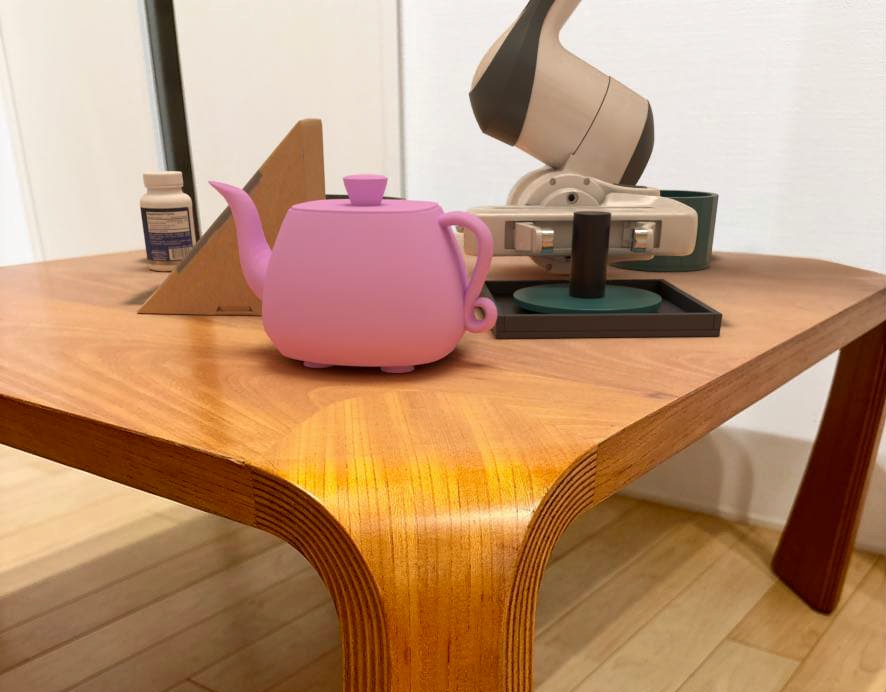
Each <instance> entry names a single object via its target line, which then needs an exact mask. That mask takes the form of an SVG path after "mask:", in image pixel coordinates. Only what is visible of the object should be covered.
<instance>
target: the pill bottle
mask: <svg viewBox="0 0 886 692" xmlns="http://www.w3.org/2000/svg"><path fill="white" fill-rule="evenodd" d="M142 180H143V185H144V188H146V193H145V194H143V195H142V196H141V197H140V198H139V209H140V216H141V223H142V232H143V239H144V246H145V254H146V260H147V261H146V262H147V266H148V268H149V269H150V270H151V271H155V272H172V271H173V270H174V268H175V267H176V266H177V265H178V264H179V263H180V261H181V260H182V259H183V258H184V257H185V256H186V254H187V253H188V252H189V251H190V250H191V249H192V247H193V246H194V245H195V244H196V243H197V242H198V240H197V233H196V226H195V225H196V224H195V217H194V216H195V215H194V207H193V201H192V198H191V197H190V195H188V194H187V193H184V191H183V188H182V187H184V179H183V172H182V171H178V170H176V171H175V170H160V171H145V172H142Z"/></svg>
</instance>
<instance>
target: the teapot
mask: <svg viewBox="0 0 886 692" xmlns="http://www.w3.org/2000/svg"><path fill="white" fill-rule="evenodd" d="M342 180H343V186H344V188H345V191H346V193H347V195H348V196H349V199H330V200H317V201H310V202H305V203H300V204H296V205H293V206H292V207H291V208H290V209H289V210H288V212H287V214H286V216H285V218H284V220H283V223H282V225H281V228H280V231H279V233H278V236H277V239H276V241H275V244H274V247H273V250H271V249H270V247H269V245H268V244H267V241H266V239H265V236H264V233H263V229H262V226H261V222H260V218H259V215H258V212H257V209H256V207H255V205H254V203H253V201H252V199H251V198H250V197H249V195H248V194H247V193H246V192H245V191H244V190H242V189H243V188H241V187H238V186H235V185H231V184H228V183H223V182H220V181H215V180H207V182H208V184H209V185H210V186H211V187H212V188H213V189H215V191H217V192H218V194H220V195H221V196H222V197H223V199H224V200H225V202H226V203H227V206H228V205H229V206H230V208H231V211H232V214H233V217H234V220H235V225H236V230H237V238H238V249H239V257H240V264H241V267H242V271H243V275H244V277H245V279H246V281H247V283H248V285H249V287H250V288H251V290H252V291H253V292H254V294H255V295H256V296H257V297H258V298H259V299H260V300H261V301H262V315H261V319H262V326H263V330H264V333H266V336H268V338H269V340H270V341H271V342H272V344H273V345H274V346H275V348H276V349H277V350H278V352H279V353H280V354H281V355H282V356H284V357H285V358H289V359H293V360H298V361H303V365H304V366H305V367H307V368H313V369H323V368H324V369H325V368H330V367H333V366H345V367H380V371H382V372H384V373H389V374H390V373H391V374H403V373H409V372H412V371H415V366H419V365H425V364H431V363H433V362H434V363H435V362H437V361H439V360H441V359H443V358H445V357H447V356H448V355H449V354H450V353H452V352H453V351H454V350H455V349H456V347H457V346H458V344H459V342H460V341H461V340H462V339H463V337H464V335H465V334H466V332H469V333H471V334H482V333H486V332H488V331H490V330H492V328H493V326H494V325H495V323H496V320H497V308H496V306H495V304H494V303H493V302H492V301H491V300H490V299H488V298H484V297H481V298H478V297H479V295H480V292H481V290H482V287H483V284H484V282H485V280H487V276H488V274H489V271H490V267H491V264H492V262H493V261H492V260H493V248H494V245H493V238H492V234H491V232H490V230H489V228H488V227H487V226H486V224H485V223H484V222H483V221H482V220H480V219H479V218H478V217H476V216H474V215H472V214H470V213H467V212H465V211H464V210H463V211H462V210H453V211H452V210H451V211H447V212H445V211H444V209H443V207H442V206H441V205H440V204H439V203H438V202H436V201H430V200H429V201H428V200H415V199H414V200H412V199H406V200H390V199H382V198H383V196H384V195H385V191H386V188H387V186H388V180H389V179H388V177H387V176H385V175H381V174H373V173H372V174H371V173H361V174H360V173H359V174H350V175H345V176H344V177H342ZM455 225H458V226H463V227H466V228H468V229H470V230H471V231H472V232H473V233H474V234H475V235H476V237H477V239H478V256H476V262H475V266H474V269H473V272H472V274H471V278H469V272H468V269H467V266H466V261H465V258H464V255H463V253H462V250H461V248H460V245H459V242H458V239H457V237H456V235H455V233H454V230H453V228H452V226H454V227H455ZM478 307H480V308H481V307H482V308H483V309H484V310H485V313H486V316H485V315H484V318H483V319H477V318H476V313H475V311H476V308H478Z"/></svg>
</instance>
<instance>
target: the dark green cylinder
mask: <svg viewBox="0 0 886 692" xmlns="http://www.w3.org/2000/svg"><path fill="white" fill-rule="evenodd" d="M659 190H660V197H665V198H670V199H673V200H676V201H678V202H681V203H683V204H685V205H687V206H689V207H691V208H693V209H694V210H695V211H696V212H697V216H698V225H697V235H696V242H695V247H694V250H693V252H692V253H691V254H690V255H686V256H670V255H655V256H654V257H653V258H652V259H650V260H641V261H632V262H620V263H610V264H608V265H610V266H612V267H615V268H619V269H626V270H632V271H643V272H661V273H663V272H664V273H668V272H669V273H672V272H673V273H674V272H675V273H678V272H694V271H702V270H705V269H708V268H711V267H710V266H711V262H712V255H713V247H714V238H715V231H716V230H715V229H716V221H717V214H718V205H719V197H720V196H719V193H715V192H709V191H699V190H687V189H685V190H684V189H659Z"/></svg>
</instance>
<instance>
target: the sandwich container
mask: <svg viewBox="0 0 886 692" xmlns="http://www.w3.org/2000/svg"><path fill="white" fill-rule="evenodd" d="M324 152H325V151H324V131H323V121H322V119H321V118H311V117H309V118H307V117H306V118H304V119H299V120H298V121H297V122H296V123H295V124H294V125H293V126H292V128H291V129H290V130H289V132H288V133H287V134H286V135H285V136H284V137H283V139H282V140H281V141H280V143H279V144H278V145H277V146H276V147H275V148H274V150H273V151H272V152H271V154H270V155H269V156H268V157H267V158H266V160H265V161H264V162H263V163H262V164H261V166H259V168H258V169H257V170H256V171H255V173H254V174H253V175H252V177H251V178H250V179H249V181H247V182H246V184H245V185H244V186H243V188H241V189H242V190H244V191H245V192H246V193H247V194H248V195H249V197H250V198H251V199H252V201H253V203H254V205H255V207H256V209H257V212H258V215H259V218H260V222H261V226H262V229H263V233H264V236H265V239H266V241H267V244H268V245H269V247H270V249H271V250H273V247H274V244H275V241H276V239H277V236H278V233H279V231H280V228H281V225H282V223H283V220H284V218H285V216H286V214H287V212H288V210H289V209H290V208H291V207H292V206H293V205H296V204H300V203H305V202H310V201H317V200H326V195H325V194H326V176H325V174H326V173H325V153H324ZM136 313H137V314H161V315H162V314H167V315H168V314H169V315H170V314H171V315H208V316H210V315H212V316H214V315H215V316H216V315H223V316H224V315H226V316H227V315H230V316H233V315H234V316H262V301H261V300H260V299H259V298H258V297H257V296H256V295H255V294H254V292H253V291H252V290H251V288H250V287H249V285H248V283H247V281H246V279H245V277H244V275H243V271H242V267H241V264H240V257H239V249H238V238H237V230H236V225H235V220H234V217H233V214H232V211H231V208H230V206H229V205H228V204H227V206H226V208H224V209H223V211H222V212H221V213H220V214H219V215H218V216H217V218H216V219H215V220H214V221H213V223H212V224H211V225H210V226H209V228H207V230H206V231H205V232H204V233H203V235H201V237H199V239H198V240H197V243H196V244H195V245H194V246H193V247H192V249H191V250H190V251H189V252H188V253H187V254H186V256H185V257H184V258H183V259H182V260H181V261H180V263H179V264H178V265H177V266H176V267H175V268H174V270H173V271H170V273H169V274H168V275H167V276H166V277H165V278H164V280H163V281H161V283H160V284H159V285H158V287H157V288H155V290H154V291H153V292H152V294H151V295H150V296H149V297H148V298H147V299H146V300H145V302H143V304H142V305H141V306H140V307H139V308H138V309H137V310H136Z"/></svg>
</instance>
